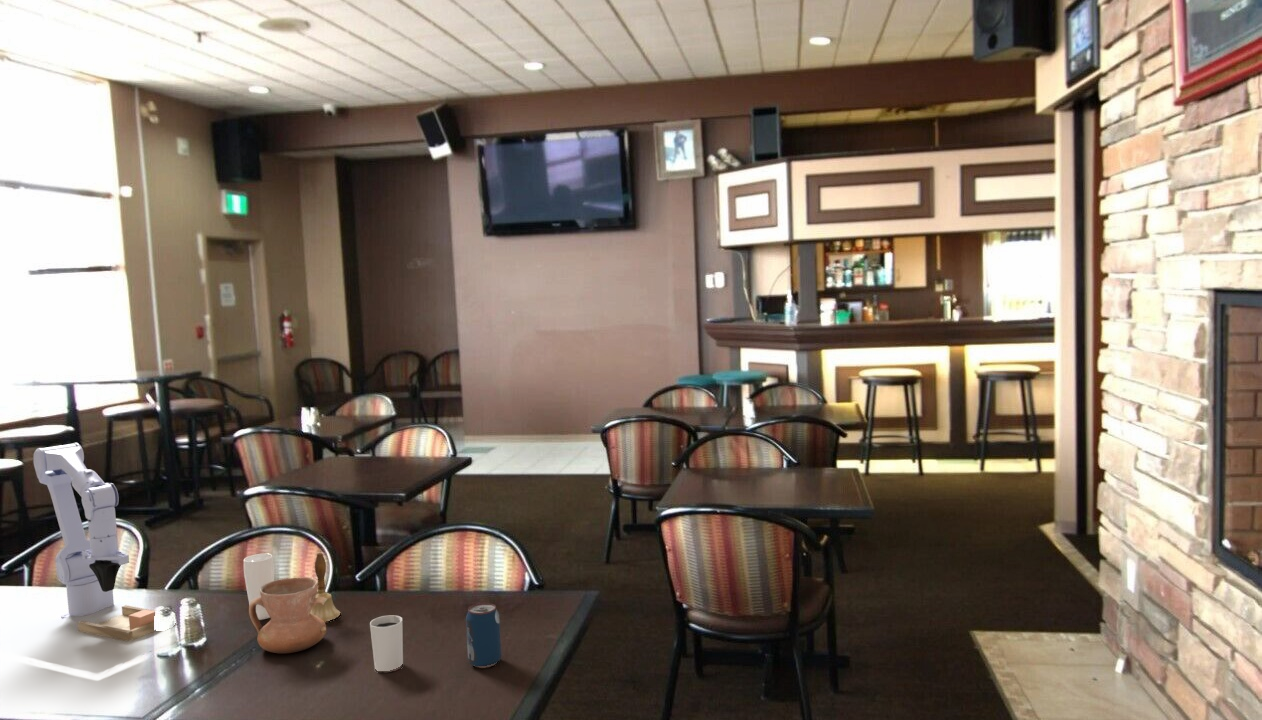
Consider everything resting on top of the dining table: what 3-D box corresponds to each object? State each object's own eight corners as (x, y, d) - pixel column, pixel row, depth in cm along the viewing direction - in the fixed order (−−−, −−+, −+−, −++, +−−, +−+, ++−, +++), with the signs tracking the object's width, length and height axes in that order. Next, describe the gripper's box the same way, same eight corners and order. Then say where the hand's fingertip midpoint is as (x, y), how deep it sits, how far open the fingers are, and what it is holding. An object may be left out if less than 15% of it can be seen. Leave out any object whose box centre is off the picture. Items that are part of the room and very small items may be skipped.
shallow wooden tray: (126, 617, 220) (125, 605, 220) (175, 627, 212) (174, 614, 212) (79, 635, 209) (78, 622, 209) (129, 646, 202) (128, 632, 201)
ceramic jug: (343, 633, 205) (339, 574, 203) (313, 660, 190) (309, 596, 189) (270, 633, 207) (265, 574, 206) (235, 659, 192) (230, 595, 191)
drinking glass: (266, 622, 213) (262, 562, 212) (241, 621, 215) (237, 561, 213) (282, 612, 220) (278, 553, 219) (258, 611, 221) (254, 552, 220)
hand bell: (310, 612, 219) (306, 549, 218) (344, 610, 220) (340, 547, 219) (301, 625, 211) (296, 560, 210) (336, 622, 212) (332, 558, 210)
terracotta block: (145, 625, 211) (144, 609, 211) (157, 627, 209) (155, 611, 209) (130, 631, 207) (128, 615, 207) (141, 634, 206) (140, 617, 205)
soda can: (507, 658, 188) (504, 603, 187) (491, 671, 181) (488, 615, 180) (478, 654, 190) (475, 600, 189) (462, 668, 184) (459, 612, 183)
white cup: (376, 677, 181) (373, 629, 180) (369, 665, 187) (366, 619, 186) (408, 669, 184) (405, 623, 183) (401, 658, 190) (398, 613, 189)
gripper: (67, 537, 211) (72, 592, 212) (106, 542, 205) (111, 599, 206) (96, 529, 217) (101, 582, 219) (135, 534, 211) (139, 589, 212)
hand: (108, 590), depth 213 cm, fingers closed
